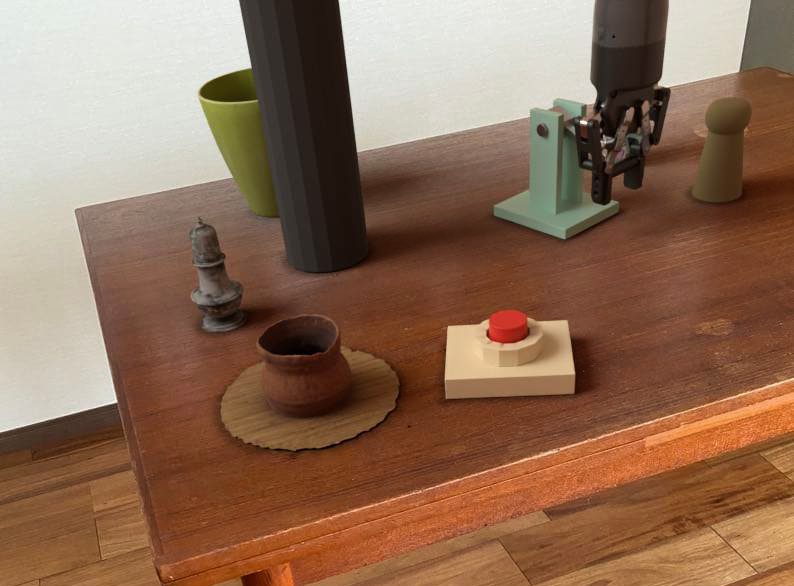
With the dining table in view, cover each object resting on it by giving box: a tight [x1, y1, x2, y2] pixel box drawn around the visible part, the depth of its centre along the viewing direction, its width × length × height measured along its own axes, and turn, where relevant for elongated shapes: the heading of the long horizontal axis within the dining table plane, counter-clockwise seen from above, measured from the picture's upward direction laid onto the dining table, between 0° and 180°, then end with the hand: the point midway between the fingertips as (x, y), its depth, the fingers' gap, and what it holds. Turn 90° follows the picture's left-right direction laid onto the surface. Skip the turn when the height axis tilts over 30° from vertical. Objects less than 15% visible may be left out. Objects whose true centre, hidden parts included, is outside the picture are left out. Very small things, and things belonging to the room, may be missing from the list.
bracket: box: [493, 97, 620, 241], centre depth 108 cm, size 12×10×13 cm
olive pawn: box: [691, 96, 753, 203], centre depth 108 cm, size 6×6×11 cm
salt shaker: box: [188, 216, 248, 334], centre depth 96 cm, size 6×6×12 cm
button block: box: [444, 317, 576, 400], centre depth 86 cm, size 12×10×4 cm
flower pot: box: [197, 67, 279, 218], centre depth 118 cm, size 15×15×16 cm
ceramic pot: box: [219, 313, 401, 452], centre depth 84 cm, size 18×18×7 cm
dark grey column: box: [238, 0, 370, 274], centre depth 100 cm, size 10×10×30 cm
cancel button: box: [488, 309, 528, 344], centre depth 84 cm, size 4×4×2 cm
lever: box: [547, 105, 639, 179], centre depth 103 cm, size 12×5×2 cm, turn 41°
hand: (617, 194), depth 104 cm, fingers closed on lever, 5 cm apart
